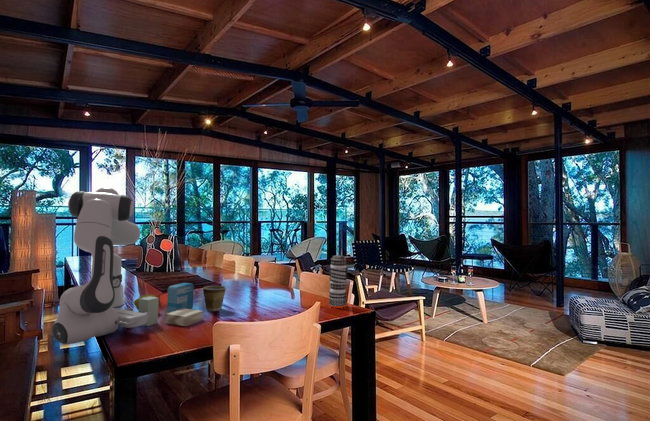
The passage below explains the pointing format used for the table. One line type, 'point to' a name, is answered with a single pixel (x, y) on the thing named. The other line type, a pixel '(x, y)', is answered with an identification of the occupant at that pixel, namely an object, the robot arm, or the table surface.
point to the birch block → (184, 317)
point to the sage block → (149, 309)
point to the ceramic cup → (214, 297)
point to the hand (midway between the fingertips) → (140, 312)
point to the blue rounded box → (180, 297)
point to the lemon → (142, 297)
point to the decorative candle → (338, 281)
